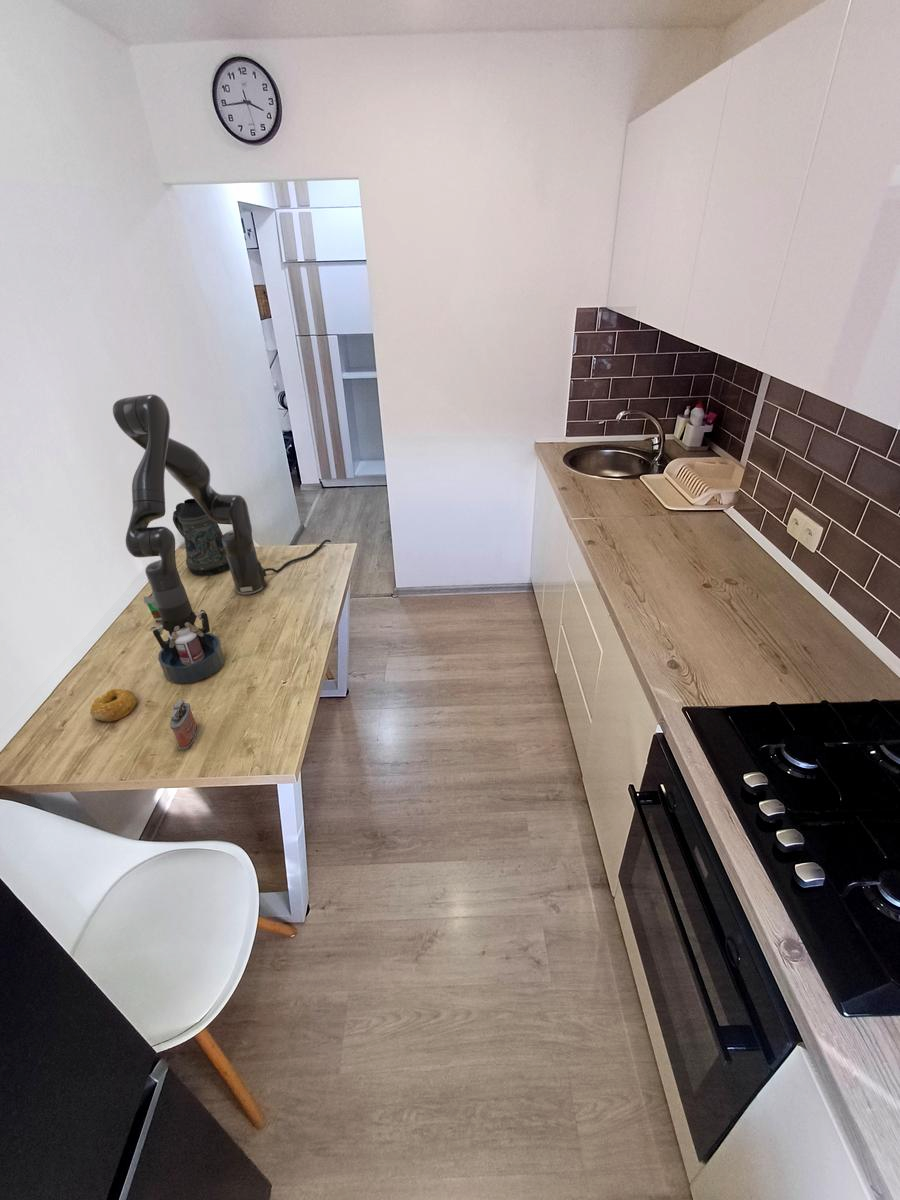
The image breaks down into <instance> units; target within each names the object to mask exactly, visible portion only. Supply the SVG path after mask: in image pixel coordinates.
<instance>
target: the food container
mask: <svg viewBox="0 0 900 1200" xmlns="http://www.w3.org/2000/svg"><path fill="white" fill-rule="evenodd" d="M143 602H144V604H146V605H147V607H148V609H149V611H150V613H151V616H152V618H153V619H154V621H155V623H162V618H161V616H160V613H159V611H158V608H157V605H156V603H155V601H154V597H153V593H152V592H151V594H150V595H148V596H143Z"/></svg>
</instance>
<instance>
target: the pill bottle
mask: <svg viewBox="0 0 900 1200" xmlns="http://www.w3.org/2000/svg"><path fill="white" fill-rule="evenodd" d="M175 647H176V649H177V652H178V655H179V658H180V661H181V663H182V664H184V665H191V664H194V663H197V662H199V661H201V660H202V659H203V658H204V652H203V649H202V646H201V643H200V641H199V638H198V635H197V634H196V633H194V632H193V631H191V630H190V629H189V628H187V627H184V628H182V629H179V631H177V639H176V640H175Z"/></svg>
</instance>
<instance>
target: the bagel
mask: <svg viewBox="0 0 900 1200" xmlns="http://www.w3.org/2000/svg"><path fill="white" fill-rule="evenodd" d="M137 702H138V700H137V698H136V696H135V693H134V692H133V691H132V690H129V689H121V688H113V689H110V690H108V691H106V693H104V694H101V696H100V697H97V698H95V699H94V700H93V702H92V704H91V706H90V716H91V717H92V718H93V719H96V720H98V721H102V722H107V723H109V722H114V721H117V720H120V719H123V718H124V717H126V716H127V715H128V714H130V713H131V712H132V711H133V710H134V708H135V706H136V704H137Z"/></svg>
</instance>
